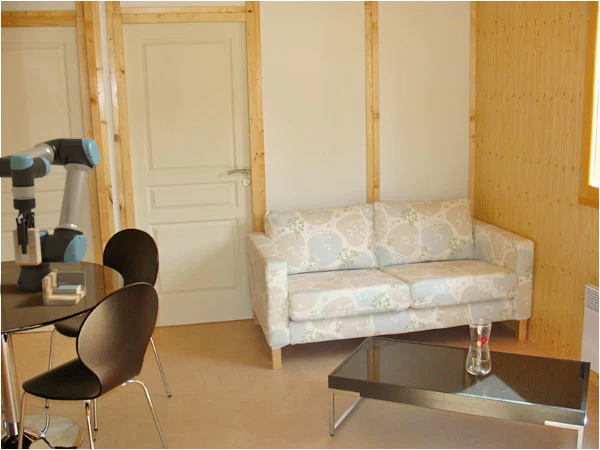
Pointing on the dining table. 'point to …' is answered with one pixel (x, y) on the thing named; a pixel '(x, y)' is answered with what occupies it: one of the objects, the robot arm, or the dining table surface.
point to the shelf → (62, 278)
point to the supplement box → (33, 247)
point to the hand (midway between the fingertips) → (28, 260)
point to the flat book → (68, 289)
